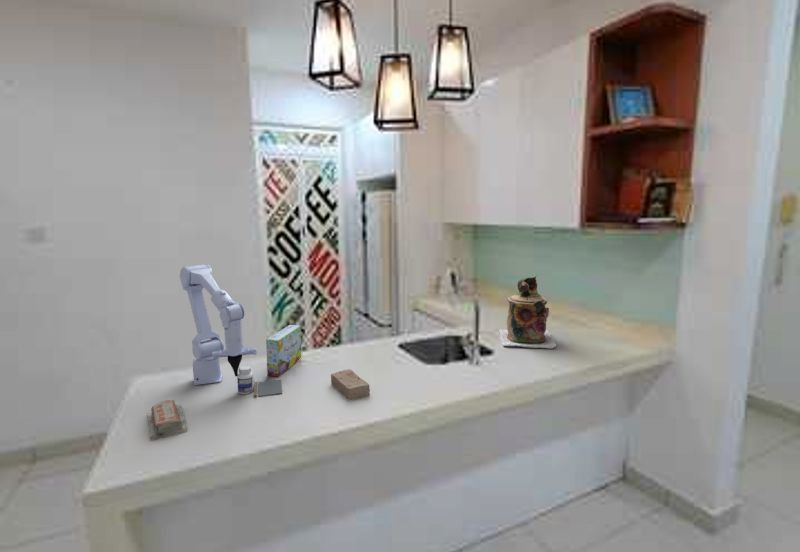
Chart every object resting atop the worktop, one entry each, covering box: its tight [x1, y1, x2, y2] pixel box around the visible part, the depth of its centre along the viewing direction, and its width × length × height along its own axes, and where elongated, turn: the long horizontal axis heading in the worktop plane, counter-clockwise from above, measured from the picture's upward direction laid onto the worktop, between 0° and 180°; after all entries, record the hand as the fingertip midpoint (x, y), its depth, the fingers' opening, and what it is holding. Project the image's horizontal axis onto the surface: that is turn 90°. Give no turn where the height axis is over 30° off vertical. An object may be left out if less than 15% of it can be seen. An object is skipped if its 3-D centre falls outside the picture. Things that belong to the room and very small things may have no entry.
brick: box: [330, 369, 371, 401], centre depth 164 cm, size 17×8×5 cm, turn 32°
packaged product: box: [147, 399, 189, 441], centre depth 140 cm, size 18×5×10 cm
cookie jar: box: [498, 274, 557, 350], centre depth 215 cm, size 25×25×32 cm
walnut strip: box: [253, 381, 258, 398], centre depth 163 cm, size 1×12×1 cm, turn 17°
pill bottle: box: [236, 365, 254, 395], centre depth 161 cm, size 5×5×9 cm
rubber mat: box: [258, 379, 283, 398], centre depth 165 cm, size 8×12×1 cm, turn 17°
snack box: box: [265, 324, 302, 378], centre depth 184 cm, size 21×6×15 cm, turn 168°
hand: (236, 375), depth 160 cm, fingers closed
